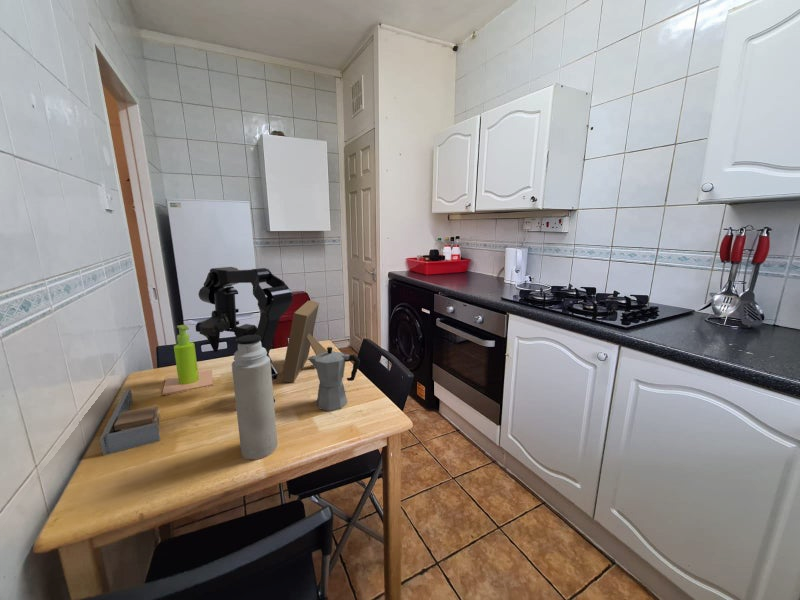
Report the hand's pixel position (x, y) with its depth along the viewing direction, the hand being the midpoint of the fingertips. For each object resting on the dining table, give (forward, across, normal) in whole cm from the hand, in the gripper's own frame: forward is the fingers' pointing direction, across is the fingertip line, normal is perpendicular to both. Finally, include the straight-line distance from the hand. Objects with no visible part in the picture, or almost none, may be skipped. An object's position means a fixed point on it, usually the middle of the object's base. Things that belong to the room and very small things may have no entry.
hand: (228, 353), depth 104 cm
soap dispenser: (+13, -17, +1) cm, 22 cm away
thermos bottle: (+11, +29, -25) cm, 40 cm away
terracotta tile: (+14, -18, +1) cm, 22 cm away
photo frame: (+12, +18, +20) cm, 30 cm away
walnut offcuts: (+13, -7, -25) cm, 29 cm away
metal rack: (+13, -10, -21) cm, 27 cm away
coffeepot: (+11, +38, -1) cm, 40 cm away
